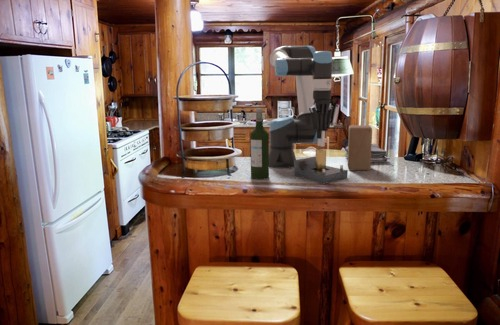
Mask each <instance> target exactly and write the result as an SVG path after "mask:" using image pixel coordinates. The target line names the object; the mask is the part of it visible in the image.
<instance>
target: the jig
mask: <svg viewBox="0 0 500 325" xmlns="http://www.w3.org/2000/svg"><path fill="white" fill-rule="evenodd" d="M315 166H316V155H314V156H310V157H305V158H300V159H296V160H294V166H293V167H294V171H293V176H294V177H298V178H301V179H304V180H305V179H306V180H310V181H311V182H312V181H313V182H315V183H320V184H323V183H326V184H329V183H334V182H338V181H342V180H346V179H348V175H349V174H348V171H349V169H348V170H347V169H344V165H343V164H340V166H339V168H338V167H333V166H328V165H326V170H325V169H322V171H317V170H315Z"/></svg>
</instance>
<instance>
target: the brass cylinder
mask: <svg viewBox="0 0 500 325" xmlns="http://www.w3.org/2000/svg"><path fill="white" fill-rule="evenodd" d="M315 156H316V166H315V170H317V171H322V169H325V170H326V166H327V149H325V148H317V149H315Z"/></svg>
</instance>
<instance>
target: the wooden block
mask: <svg viewBox="0 0 500 325" xmlns="http://www.w3.org/2000/svg"><path fill="white" fill-rule="evenodd" d="M347 141H348V142H347V146H348V158H347V169H348V171H365V172H367V171H370V170H371V167H372V166H371V165H372V163H371V146H372V144H373V128H372V126H371V125H368V124H366V125H365V124H364V125H363V124H362V125H361V124H351V125H349V126H348V139H347Z"/></svg>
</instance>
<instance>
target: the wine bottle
mask: <svg viewBox="0 0 500 325" xmlns="http://www.w3.org/2000/svg"><path fill="white" fill-rule="evenodd" d="M255 112H256V113H255V127H254V129H253V130H251V132H250V135H249V136H250V138H249V139H250V178H252V179H253V180H265V179H266V180H267V179H269V178H270V177H269V176H270V166H269V151H270V133H269V132H268V131H267V130H266V129H265V128H264V122H263V108H262V107H257V108H256V109H255Z"/></svg>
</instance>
